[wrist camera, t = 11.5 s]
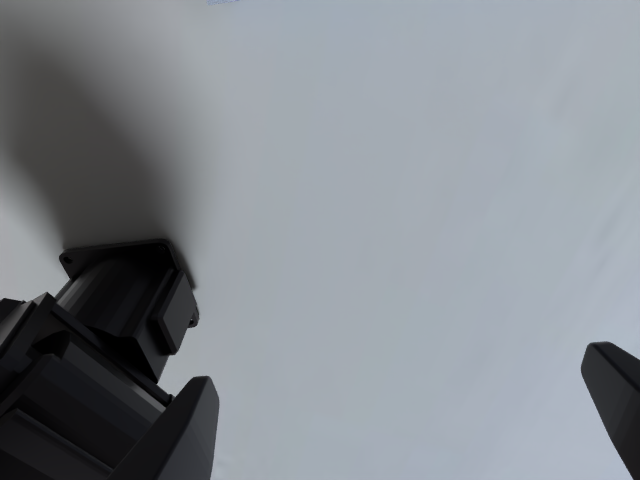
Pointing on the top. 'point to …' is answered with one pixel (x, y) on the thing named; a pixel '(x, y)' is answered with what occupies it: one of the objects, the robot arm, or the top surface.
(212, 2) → the tray
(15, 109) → the top surface
